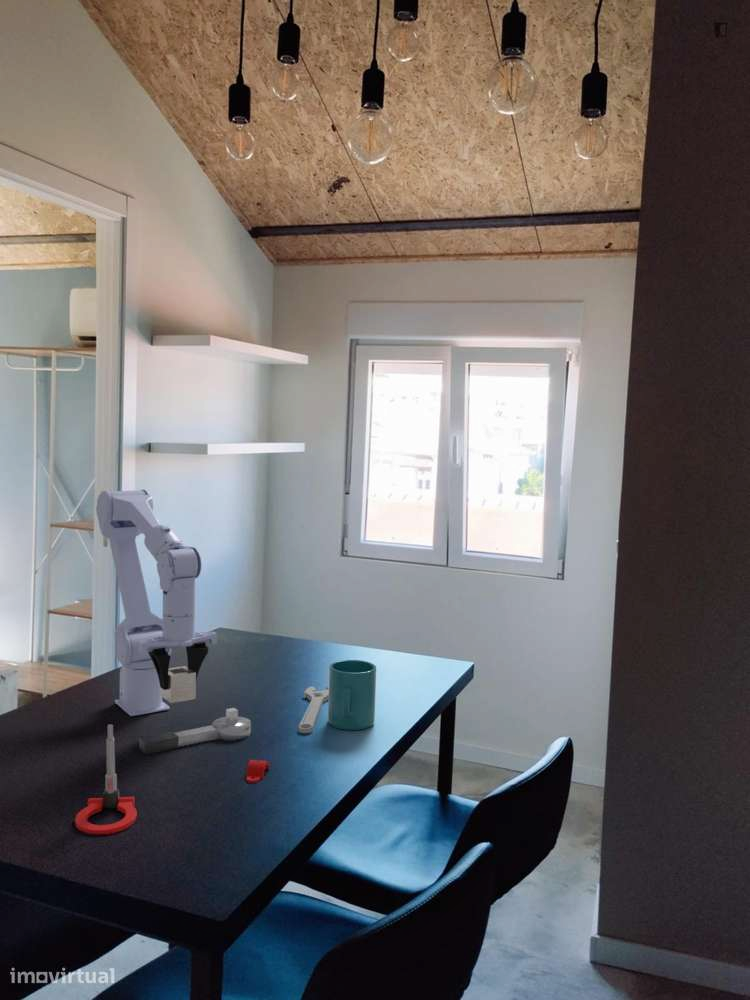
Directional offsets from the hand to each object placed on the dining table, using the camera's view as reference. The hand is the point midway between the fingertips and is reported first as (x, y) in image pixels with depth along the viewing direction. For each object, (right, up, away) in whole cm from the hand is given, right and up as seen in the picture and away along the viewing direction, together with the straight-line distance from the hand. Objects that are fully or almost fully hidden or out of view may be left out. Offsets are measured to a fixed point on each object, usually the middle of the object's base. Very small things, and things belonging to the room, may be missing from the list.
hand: (177, 685), depth 157 cm
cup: (+32, -9, +6) cm, 33 cm away
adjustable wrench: (+24, -9, +14) cm, 29 cm away
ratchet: (+4, -9, -4) cm, 11 cm away
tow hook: (-2, -12, -34) cm, 36 cm away
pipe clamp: (+17, -11, -17) cm, 26 cm away
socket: (0, -2, 0) cm, 2 cm away
